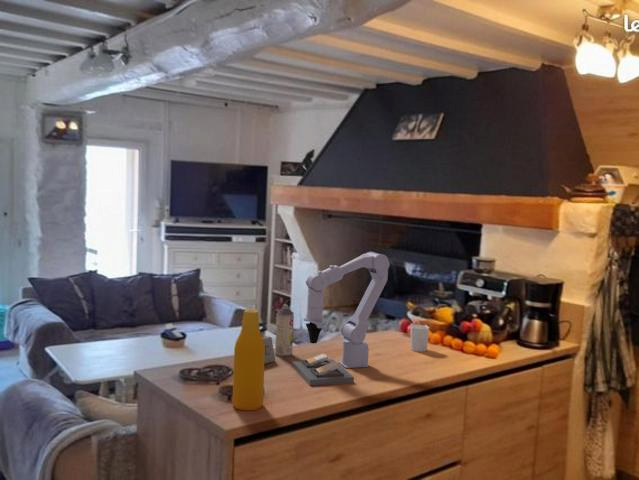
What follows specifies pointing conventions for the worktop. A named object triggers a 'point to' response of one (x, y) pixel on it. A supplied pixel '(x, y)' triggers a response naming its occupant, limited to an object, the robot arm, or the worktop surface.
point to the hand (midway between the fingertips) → (313, 342)
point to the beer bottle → (249, 364)
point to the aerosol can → (284, 332)
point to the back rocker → (317, 359)
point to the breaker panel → (314, 378)
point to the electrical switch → (269, 350)
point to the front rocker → (327, 368)
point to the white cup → (419, 337)
